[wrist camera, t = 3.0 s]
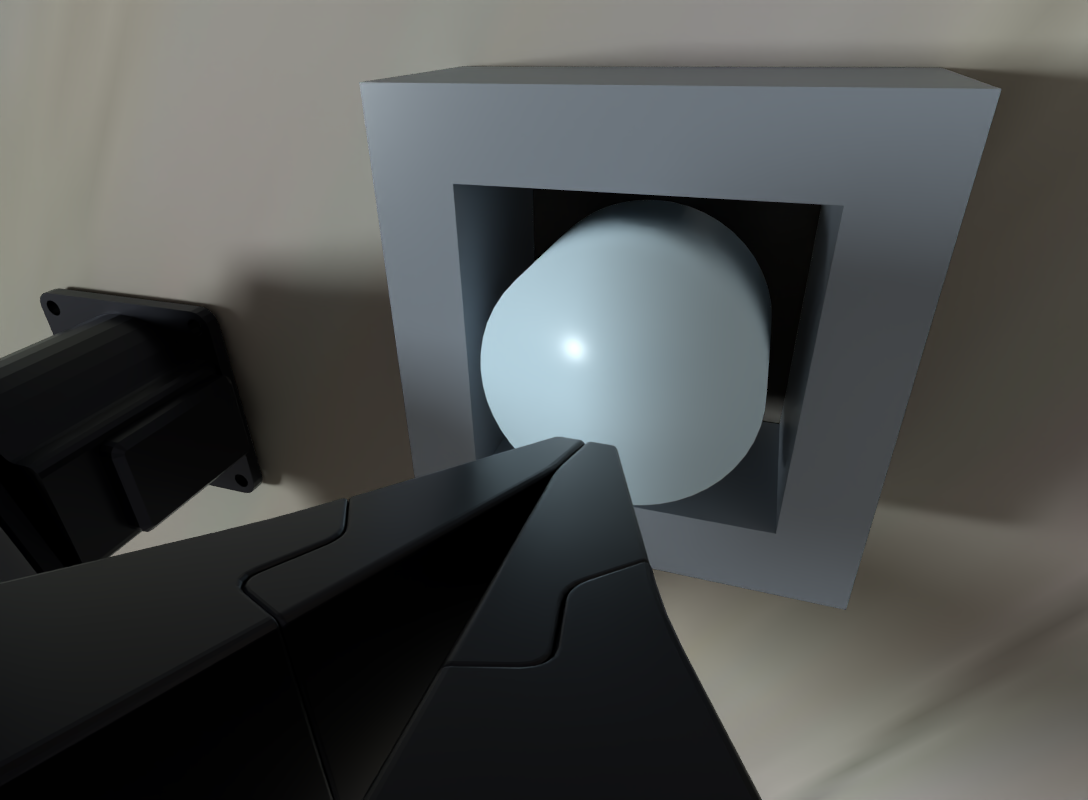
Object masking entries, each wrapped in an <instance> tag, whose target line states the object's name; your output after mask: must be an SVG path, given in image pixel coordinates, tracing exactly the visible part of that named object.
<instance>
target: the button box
mask: <svg viewBox="0 0 1088 800" xmlns="http://www.w3.org/2000/svg"><path fill="white" fill-rule="evenodd" d="M359 83H360V90H361V97H362V104H363V111H364V119H365V126H366V133H367V140H368V147H369V154H370V161H371V169H372V176H373V183H374V190H375V197H376V204H377V211H378V218H379V226H380V233H381V240H382V247H383V254H384V261H385V268H386V276H387V283H388V290H389V297H390V304H391V311H392V318H393V326H394V333H395V340H396V347H397V354H398V361H399V368H400V376H401V383H402V390H403V397H404V404H405V411H406V418H407V426H408V433H409V440H410V447H411V454H412V461H413V468H414V476H415V478H417V477H421V476H424V475H427V474H431V473H434V472H438V471H441V470H444V469H448V468H451V467H454V466H458V465H461V464H465V463H468V462H471V461H475V460H478V459H482V458H485V457H488V456H492V455H495V454H498V453H502V452H505V451H509V450H512V449H515V448H514V447H513V446H512V445H511V443H510V442H509V441H508V439H507V438H506V436H505V435H504V434H503V432H502V431H501V429H500V427H499V425H498V424H497V422H496V420H495V418H494V416H493V414H492V412H491V409H490V407H489V404H488V402H487V399H486V395H485V391H484V388H483V383H482V375H481V348H482V340H483V336H484V332H485V329H486V325H487V322H488V320H489V318H490V315H491V313H492V311H493V309H494V307H495V306H496V304H497V302H498V301H499V299H500V298H501V296H502V295H503V293H504V292H505V291H506V290H507V289H508V288H509V287H510V286H511V285H512V283H513V282H514V281H515V280H516V279H517V278H518V277H519V276H520V275H522V274H523V273H524V272H525V271H526V270H527V269H528V268H529V267H530V266H531V265H532V264H533V263H534V262H535V261H534V219H533V188H538V189H556V190H574V191H592V192H610V193H628V194H645V195H663V196H681V197H699V198H717V199H735V200H752V201H770V202H788V203H806V204H822V205H821V210H820V215H819V220H818V226H817V231H816V236H815V241H814V247H813V252H812V257H811V262H810V268H809V273H808V278H807V283H806V289H805V294H804V299H803V304H802V309H801V315H800V320H799V325H798V330H797V336H796V341H795V346H794V351H793V357H792V362H791V367H790V372H789V378H788V383H787V388H786V393H785V399H784V404H783V409H782V414H781V420H780V424H775V423H768V422H762V423H761V427H760V429H759V431H758V434H757V436H756V438H755V441H754V443H753V444H752V446H751V447H750V449H749V450H748V452H747V454H746V455H745V457H744V458H743V459H742V460H741V461H740V462H739V463H738V465H737V466H736V467H735V468H734V469H733V470H732V471H731V472H730V473H728V474H727V475H726V476H725V477H724V478H723V479H721V480H720V481H718V482H717V483H715V484H714V485H712V486H710V487H709V488H707V489H705V490H703V491H701V492H699V493H697V494H695V495H692V496H689V497H686V498H683V499H680V500H677V501H672V502H667V503H662V504H653V505H633V507H634V510H635V514H636V517H637V521H638V524H639V528H640V531H641V535H642V538H643V542H644V545H645V549H646V552H647V556H648V560H649V563H650V565H651V567H652V569H656V570H661V571H666V572H670V573H675V574H680V575H685V576H689V577H694V578H699V579H703V580H708V581H713V582H717V583H722V584H727V585H731V586H736V587H741V588H746V589H750V590H755V591H760V592H764V593H769V594H774V595H778V596H783V597H788V598H793V599H797V600H802V601H807V602H811V603H816V604H821V605H825V606H830V607H835V608H840V609H844V610H846V608H847V605H848V601H849V598H850V595H851V591H852V588H853V585H854V581H855V578H856V575H857V571H858V568H859V565H860V561H861V558H862V554H863V551H864V548H865V544H866V541H867V538H868V534H869V531H870V528H871V524H872V521H873V518H874V514H875V511H876V508H877V504H878V501H879V498H880V494H881V491H882V488H883V484H884V481H885V477H886V474H887V471H888V467H889V464H890V461H891V457H892V454H893V451H894V447H895V444H896V441H897V437H898V434H899V431H900V427H901V424H902V421H903V417H904V414H905V411H906V407H907V404H908V400H909V397H910V394H911V390H912V387H913V384H914V380H915V377H916V374H917V370H918V367H919V364H920V360H921V357H922V354H923V350H924V347H925V344H926V340H927V337H928V334H929V330H930V327H931V323H932V320H933V317H934V313H935V310H936V307H937V303H938V300H939V297H940V293H941V290H942V287H943V283H944V280H945V277H946V273H947V270H948V267H949V263H950V260H951V257H952V253H953V250H954V246H955V243H956V240H957V236H958V233H959V230H960V226H961V223H962V220H963V216H964V213H965V210H966V206H967V203H968V200H969V196H970V193H971V190H972V186H973V183H974V179H975V176H976V173H977V169H978V166H979V163H980V159H981V156H982V153H983V149H984V146H985V143H986V139H987V136H988V133H989V129H990V126H991V123H992V119H993V116H994V113H995V109H996V106H997V102H998V99H999V96H1000V92H1001V88H998V87H995V86H992V85H989V84H986V83H984V82H981V81H978V80H975V79H972V78H970V77H967V76H964V75H961V74H958V73H955V72H953V71H950V70H947V69H944V68H911V67H487V66H462V67H455V68H449V69H443V70H436V71H430V72H423V73H417V74H410V75H404V76H397V77H391V78H385V79H378V80H372V81H365V82H359Z"/></svg>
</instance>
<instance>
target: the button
mask: <svg viewBox="0 0 1088 800" xmlns="http://www.w3.org/2000/svg"><path fill="white" fill-rule="evenodd" d="M771 326H772V308H771V299H770V294H769V290H768V286H767V283H766V280H765V278H764V275H763V272H762V270H761V268H760V266H759V265H758V263H757V261H756V259H755V257H754V256H753V254H752V253H751V252H750V250H749V249H748V248H747V246H746V245H745V244H744V243H743V242H742V241H741V240H740V239H739V238H738V237H737V236H736V234H735V233H734V232H732V231H731V230H730V229H729V228H727V227H726V226H725V225H723V224H722V223H721V222H720V221H718V220H716V219H714V218H713V217H711V216H709V215H708V214H706V213H704V212H701V211H699V210H697V209H694V208H692V207H689V206H686V205H682V204H678V203H675V202H669V201H661V200H634V201H627V202H621V203H618V204H614V205H611V206H607V207H605V208H602V209H600V210H598V211H596V212H593V213H591V214H590V215H588V216H587V217H585V218H583V219H582V220H580V221H579V222H577V223H576V224H575V225H574V226H573V227H571V228H570V229H569V230H568V231H567V232H566V233H565V234H563V235H562V236H561V237H560V238H559V239H558V240H557V241H556V242H555V243H554V244H553V245H552V246H551V247H550V248H549V249H548V250H547V251H546V252H545V253H544V254H542V255H541V256H540V257H539V258H538V259H537V260H536V261H535V262H534V263H533V264H532V265H531V266H530V267H529V268H528V269H527V270H526V271H525V272H524V273H523V274H522V275H520V276H519V277H518V278H517V279H516V280H515V281H514V282H513V283H512V285H511V286H510V287H509V288H508V289H507V290H506V291H505V292H504V293H503V295H502V296H501V298H500V299H499V301H498V302H497V304H496V306H495V307H494V309H493V311H492V313H491V315H490V318H489V320H488V322H487V325H486V329H485V332H484V336H483V340H482V348H481V375H482V383H483V388H484V391H485V395H486V399H487V402H488V404H489V407H490V409H491V412H492V414H493V416H494V418H495V420H496V422H497V424H498V425H499V427H500V429H501V431H502V432H503V434H504V435H505V436H506V438H507V439H508V441H509V442H510V443H511V445H512V446H513V447H514V448H519V447H522V446H526V445H529V444H532V443H536V442H539V441H543V440H546V439H549V438H553V437H566V438H572V439H578V440H582V441H583V442H584V443H585V444H586V443H587V442H596V443H602V444H608V445H613V446H615V447H616V448H617V450H618V454H619V457H620V461H621V464H622V468H623V471H624V475H625V478H626V482H627V485H628V489H629V492H630V496H631V500H632V503H633V505H653V504H662V503H667V502H672V501H677V500H680V499H683V498H686V497H689V496H692V495H695V494H697V493H699V492H701V491H703V490H705V489H707V488H709V487H710V486H712V485H714V484H715V483H717V482H718V481H720V480H721V479H723V478H724V477H725V476H726V475H727V474H728V473H730V472H731V471H732V470H733V469H734V468H735V467H736V466H737V465H738V463H739V462H740V461H741V460H742V459H743V458H744V457H745V455H746V454H747V452H748V450H749V449H750V447H751V446H752V444H753V443H754V441H755V438H756V436H757V434H758V431H759V429H760V427H761V423H762V419H763V416H764V412H765V405H766V395H767V382H768V368H769V354H770V340H771Z"/></svg>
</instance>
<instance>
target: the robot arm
mask: <svg viewBox="0 0 1088 800" xmlns="http://www.w3.org/2000/svg"><path fill="white" fill-rule="evenodd" d="M40 302H41V306H42V308H43V311H44V313H45V316H46V318H47V320H48V323H49V325H50V327H51V330H52V332H53V336H51V337H49V338H46V339H44V340H42V341H39V342H37V343H35V344H32V345H30V346H28V347H25V348H23V349H21V350H18V351H16V352H14V353H12V354H9V355H7V356H5V357H2V358H0V800H762V799H761V797H760V795H759V793H758V791H757V789H756V787H755V786H754V784H753V782H752V780H751V778H750V776H749V774H748V772H747V770H746V768H745V766H744V764H743V763H742V761H741V759H740V757H739V755H738V753H737V751H736V749H735V747H734V745H733V743H732V741H731V740H730V738H729V736H728V734H727V732H726V730H725V728H724V726H723V724H722V722H721V720H720V718H719V717H718V715H717V713H716V711H715V709H714V707H713V705H712V703H711V701H710V699H709V697H708V695H707V694H706V692H705V690H704V688H703V686H702V684H701V682H700V680H699V678H698V676H697V674H696V672H695V671H694V669H693V667H692V665H691V663H690V661H689V659H688V657H687V655H686V653H685V651H684V649H683V647H682V645H681V643H680V641H679V639H678V637H677V635H676V633H675V630H674V628H673V626H672V624H671V622H670V620H669V618H668V615H667V613H666V610H665V607H664V605H663V602H662V599H661V596H660V593H659V590H658V587H657V585H656V581H655V578H654V574H653V571H652V567H651V565H650V563H649V560H648V556H647V552H646V549H645V545H644V542H643V538H642V535H641V531H640V528H639V524H638V521H637V517H636V514H635V510H634V507H633V503H632V500H631V496H630V492H629V489H628V485H627V482H626V478H625V475H624V471H623V468H622V464H621V461H620V457H619V454H618V450H617V448H616V447H615V446H613V445H608V444H602V443H596V442H587V443H586V444H585V443H584V442H583V441H582V440H578V439H572V438H566V437H553V438H549V439H546V440H543V441H539V442H536V443H532V444H529V445H526V446H522V447H519V448H515V449H512V450H509V451H505V452H502V453H498V454H495V455H492V456H488V457H485V458H482V459H478V460H475V461H471V462H468V463H465V464H461V465H458V466H454V467H451V468H448V469H444V470H441V471H438V472H434V473H431V474H427V475H424V476H421V477H417V478H414V479H410V480H407V481H404V482H400V483H397V484H394V485H390V486H387V487H383V488H380V489H377V490H373V491H370V492H366V493H363V494H360V495H356V496H353V497H351V498H350V499H349V503H348V500H347V499H345V498H342V499H339V500H335V501H332V502H329V503H325V504H322V505H318V506H315V507H311V508H308V509H304V510H300V511H297V512H293V513H290V514H286V515H282V516H279V517H275V518H272V519H267V520H263V521H259V522H255V523H251V524H247V525H243V526H239V527H235V528H231V529H227V530H223V531H219V532H215V533H210V534H206V535H202V536H198V537H193V538H189V539H185V540H181V541H176V542H172V543H168V544H164V545H159V546H155V547H151V548H146V549H142V550H138V551H134V552H129V553H125V554H121V555H117V556H112V557H110V556H111V555H113V554H114V553H115V552H116V551H118V550H119V549H120V548H121V547H123V546H124V545H125V544H126V543H128V542H129V541H130V540H132V539H133V538H134V537H135V536H137V535H138V534H139V533H140V532H142V531H146V532H149V531H151V530H153V529H154V528H155V527H157V526H158V525H159V524H160V523H162V522H163V521H164V520H165V519H166V518H168V517H169V516H170V515H171V514H173V513H174V512H175V511H176V510H178V509H179V508H180V507H181V506H183V505H184V504H185V503H186V502H188V501H189V500H190V499H191V498H193V497H194V496H195V495H196V494H198V493H199V492H200V491H201V490H203V489H204V488H205V487H206V486H208V485H212V486H217V487H221V488H226V489H230V490H235V491H240V492H244V493H250V492H252V491H253V490H255V489H256V488H257V487H258V486H259V485H260V484H261V482H262V475H261V471H260V468H259V464H258V461H257V457H256V454H255V450H254V447H253V443H252V440H251V436H250V432H249V429H248V425H247V422H246V418H245V415H244V411H243V408H242V404H241V401H240V397H239V393H238V390H237V386H236V383H235V379H234V376H233V372H232V369H231V365H230V362H229V358H228V354H227V351H226V347H225V344H224V340H223V337H222V333H221V330H220V326H219V323H218V321H217V319H216V317H215V316H214V315H213V313H212V312H210V311H209V310H208V309H206V308H204V307H201V306H193V305H185V304H177V303H169V302H161V301H154V300H146V299H138V298H130V297H122V296H114V295H106V294H98V293H91V292H83V291H75V290H67V289H54V290H51V291H48V292H46V293H43V294H42V295H41V298H40ZM200 325H201V326H200Z"/></svg>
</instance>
